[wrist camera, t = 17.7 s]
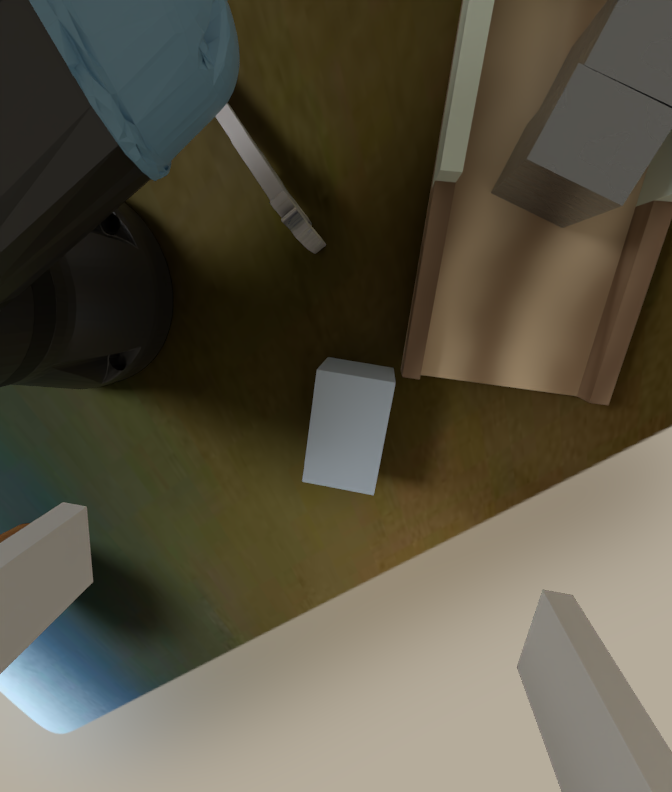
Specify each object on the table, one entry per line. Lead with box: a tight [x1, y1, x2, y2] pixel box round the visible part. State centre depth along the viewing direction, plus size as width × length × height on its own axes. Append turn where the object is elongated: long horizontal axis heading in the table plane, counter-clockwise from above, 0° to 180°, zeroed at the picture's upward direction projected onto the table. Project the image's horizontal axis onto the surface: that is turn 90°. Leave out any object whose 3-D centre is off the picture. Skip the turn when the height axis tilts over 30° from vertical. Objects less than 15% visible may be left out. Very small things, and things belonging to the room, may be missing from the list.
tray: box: [432, 0, 672, 207], centre depth 19 cm, size 13×12×4 cm
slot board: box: [401, 0, 672, 405], centre depth 22 cm, size 13×24×2 cm, turn 173°
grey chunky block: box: [540, 0, 672, 108], centre depth 18 cm, size 5×4×6 cm
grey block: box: [302, 357, 396, 495], centre depth 26 cm, size 5×5×8 cm
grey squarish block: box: [491, 63, 672, 228], centre depth 19 cm, size 5×4×6 cm
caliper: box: [215, 102, 326, 254], centre depth 22 cm, size 20×1×6 cm, turn 36°
